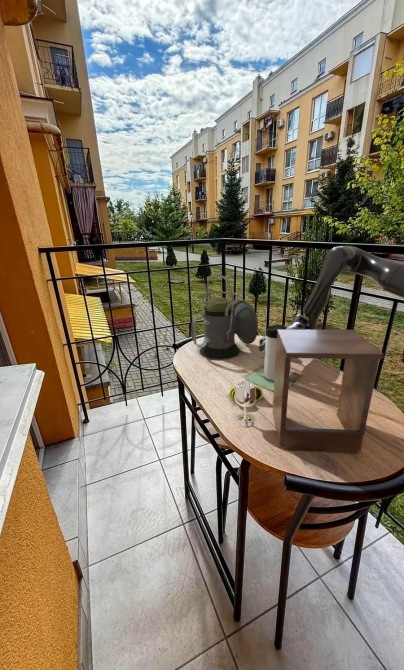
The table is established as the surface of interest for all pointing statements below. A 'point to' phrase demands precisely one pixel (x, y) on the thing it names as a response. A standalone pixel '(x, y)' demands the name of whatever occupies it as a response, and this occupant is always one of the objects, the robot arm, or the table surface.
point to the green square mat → (263, 380)
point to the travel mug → (271, 351)
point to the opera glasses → (258, 393)
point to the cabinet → (352, 394)
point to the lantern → (225, 324)
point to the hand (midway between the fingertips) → (272, 351)
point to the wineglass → (245, 400)
